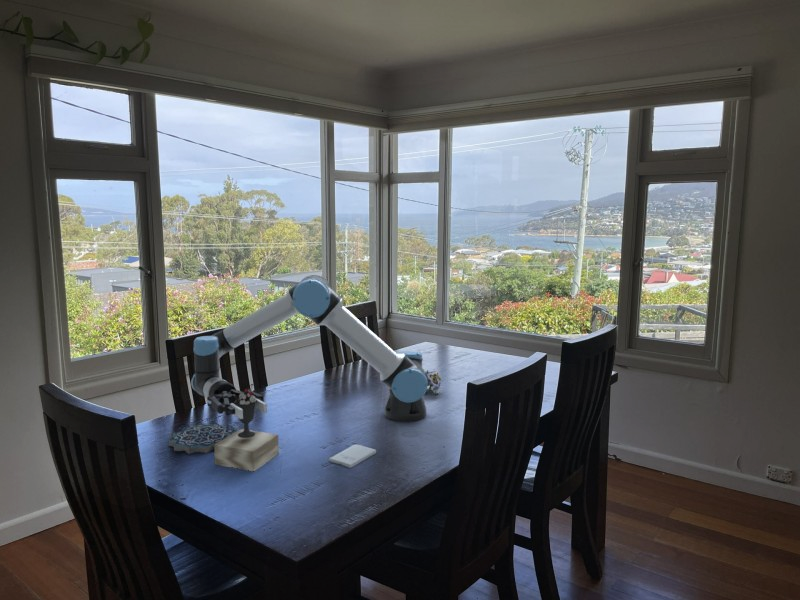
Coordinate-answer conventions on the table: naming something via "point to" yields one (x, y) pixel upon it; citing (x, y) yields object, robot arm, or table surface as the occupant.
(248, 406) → the sundae
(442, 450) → the table surface
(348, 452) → the external hard drive
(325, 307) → the robot arm
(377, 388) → the table surface
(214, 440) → the decorative tile
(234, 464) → the block
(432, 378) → the passion flower
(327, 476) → the table surface
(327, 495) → the table surface
